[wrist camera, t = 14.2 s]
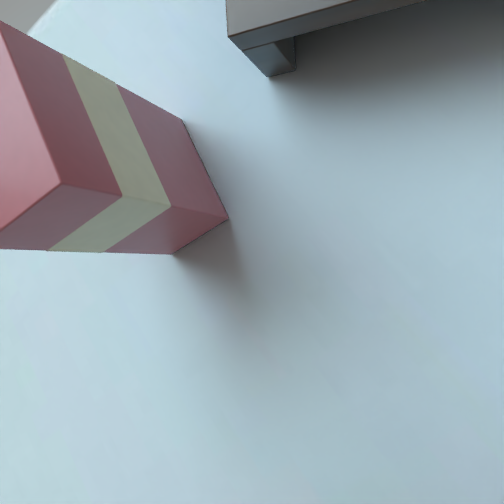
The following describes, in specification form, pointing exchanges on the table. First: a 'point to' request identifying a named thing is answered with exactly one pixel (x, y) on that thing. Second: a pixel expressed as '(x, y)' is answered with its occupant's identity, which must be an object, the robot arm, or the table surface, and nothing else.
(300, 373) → the table surface
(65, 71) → the packet
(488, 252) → the table surface
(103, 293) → the table surface
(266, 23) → the shelf
